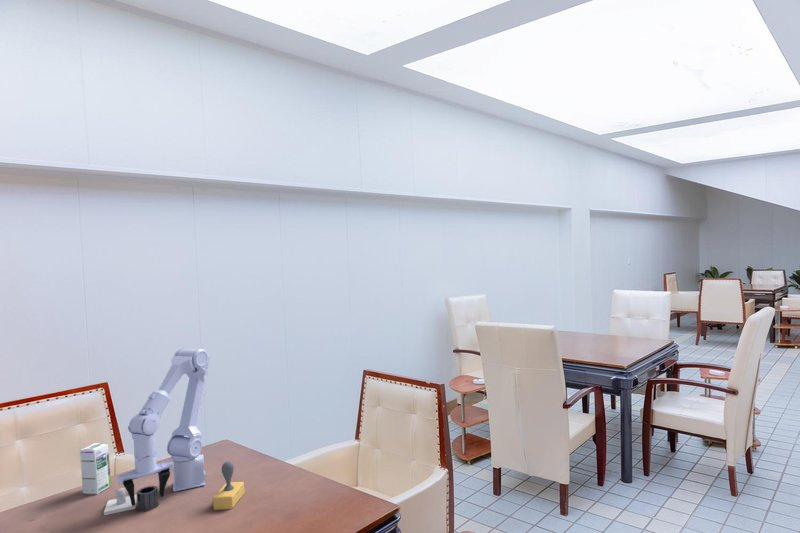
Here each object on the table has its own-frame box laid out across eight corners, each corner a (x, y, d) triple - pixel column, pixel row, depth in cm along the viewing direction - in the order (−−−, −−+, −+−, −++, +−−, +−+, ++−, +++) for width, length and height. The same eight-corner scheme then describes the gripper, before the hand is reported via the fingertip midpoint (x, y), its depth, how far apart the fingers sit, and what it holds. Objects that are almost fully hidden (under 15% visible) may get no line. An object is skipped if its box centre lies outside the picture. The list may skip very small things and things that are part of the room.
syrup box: (97, 494, 156) (94, 449, 156) (81, 493, 157) (79, 449, 157) (111, 486, 162) (109, 442, 162) (96, 485, 163) (93, 442, 163)
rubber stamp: (226, 493, 152) (224, 455, 152) (245, 493, 152) (242, 454, 152) (213, 509, 142) (210, 469, 142) (232, 509, 142) (230, 468, 142)
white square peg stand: (137, 497, 153) (136, 481, 153) (135, 508, 145) (134, 492, 145) (108, 503, 150) (107, 487, 150) (104, 515, 142) (103, 498, 142)
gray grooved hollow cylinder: (158, 500, 150) (157, 484, 150) (157, 508, 145) (156, 491, 145) (138, 504, 148) (138, 488, 148) (137, 512, 143) (136, 495, 143)
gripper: (168, 444, 154) (170, 487, 154) (115, 457, 145) (117, 503, 145) (173, 450, 148) (176, 495, 148) (119, 464, 139) (121, 512, 139)
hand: (147, 500), depth 146 cm, fingers open, 7 cm apart
